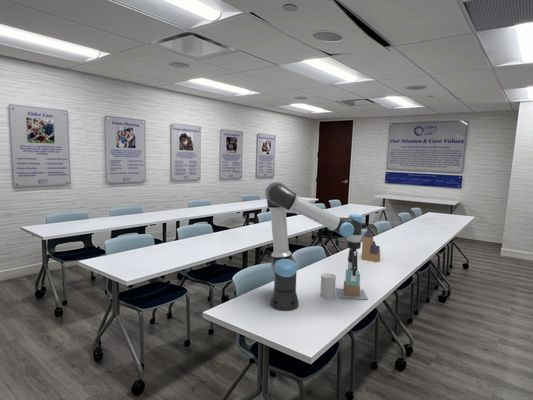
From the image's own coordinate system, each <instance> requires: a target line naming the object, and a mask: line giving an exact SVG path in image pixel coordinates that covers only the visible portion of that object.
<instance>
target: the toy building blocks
mask: <svg viewBox="0 0 533 400" xmlns="http://www.w3.org/2000/svg"><path fill="white" fill-rule="evenodd" d="M361 246H362V247H361V261H366V262H371V261H372V263H376V262H377V263H379V262H380V261H381V249H380V247H381V246H380V245H377V244H376V241H375V240H374V235H373V233H372V232H371V231H370V229H369V228H368V229H367V230H366V231H365V232H364V234H363V236H362V241H361Z"/></svg>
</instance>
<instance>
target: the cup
mask: <svg viewBox="0 0 533 400" xmlns="http://www.w3.org/2000/svg"><path fill="white" fill-rule="evenodd" d="M336 278H337V277H336V274H334V273H330V272H324V273H321V275H320V292H319V293H320V294H319V296H320V297H321V298H322V299H329V300H330V299H331V300H332V299H334V298H335V296H336V295H335V294H336Z"/></svg>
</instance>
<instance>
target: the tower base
mask: <svg viewBox="0 0 533 400" xmlns="http://www.w3.org/2000/svg"><path fill="white" fill-rule="evenodd" d="M335 291H336V294H337V297H338V299H342V300H343V299H345V300H356V301H357V300H360V301H368V300H369V299H368V297H367V295H366V293H365V290H364V289H361V285H360V286H349V285H347V284H346V281H345V280H344V281H343V288H337V287H335Z"/></svg>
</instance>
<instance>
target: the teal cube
mask: <svg viewBox="0 0 533 400" xmlns="http://www.w3.org/2000/svg"><path fill="white" fill-rule="evenodd" d="M344 281H346V284H347V285H349V286H360V287H361V285H360V284H361V273H360V271H359V269H358V270H357V273H356V281H351V270H348V269H345V279H344Z"/></svg>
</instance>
